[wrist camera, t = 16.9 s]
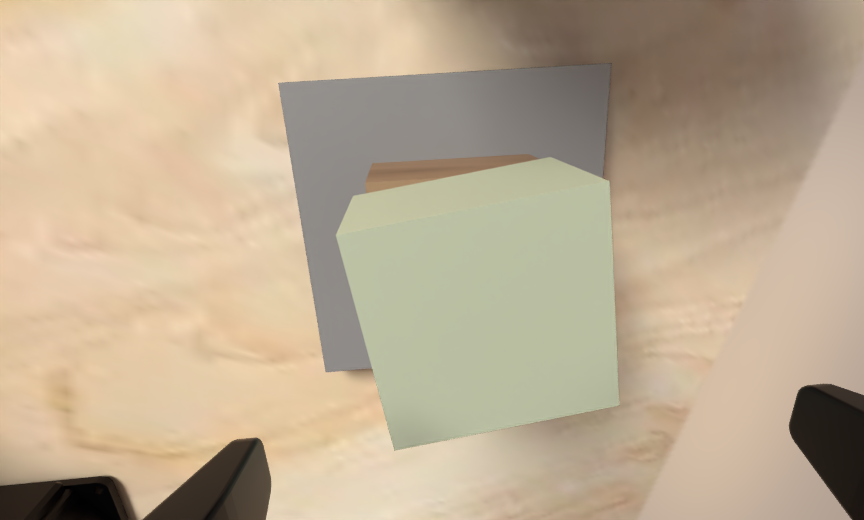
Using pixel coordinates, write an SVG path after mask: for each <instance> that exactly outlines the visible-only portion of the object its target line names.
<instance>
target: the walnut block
mask: <svg viewBox="0 0 864 520" xmlns="http://www.w3.org/2000/svg"><path fill="white" fill-rule="evenodd" d="M532 160H538V158H536V157H534V156H532V155H530V154H519V155H503V156H486V157H469V158H452V159H436V160H419V161H402V162H385V163H372V165H371V168H370V171H369V173H368V176H367V179H366V181H365V187H366V193H371V192H376V191H381V190H386V189H391V188H396V187H401V186H406V185H411V184H416V183H421V182H426V181H431V180H436V179H441V178H446V177H451V176H457V175H462V174H467V173H472V172H477V171H482V170H487V169H492V168H497V167H502V166H507V165H512V164H517V163H522V162H527V161H532Z"/></svg>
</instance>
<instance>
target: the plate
mask: <svg viewBox="0 0 864 520" xmlns="http://www.w3.org/2000/svg"><path fill="white" fill-rule="evenodd" d="M610 75H611V63H605V64H588V65H571V66H554V67H537V68H521V69H504V70H487V71H470V72H453V73H436V74H419V75H403V76H386V77H369V78H352V79H335V80H318V81H301V82H285V83H278V84H279V91H280V97H281V103H282V109H283V115H284V121H285V127H286V133H287V139H288V145H289V151H290V158H291V164H292V170H293V176H294V182H295V188H296V194H297V200H298V206H299V212H300V218H301V225H302V231H303V237H304V243H305V249H306V255H307V261H308V267H309V273H310V279H311V285H312V292H313V298H314V304H315V310H316V316H317V322H318V328H319V334H320V340H321V346H322V352H323V359H324V365H325V371H326V372H335V371H346V370H357V369H368V368H372V366H371V363H370V359H369V355H368V352H367V348H366V344H365V341H364V337H363V333H362V330H361V326H360V322H359V319H358V315H357V311H356V308H355V304H354V300H353V297H352V293H351V289H350V286H349V282H348V278H347V275H346V271H345V267H344V264H343V260H342V256H341V253H340V249H339V245H338V242H337V238H336V234H337V231H338V229H339V227H340V225H341V222H342V220H343V218H344V215H345V213H346V211H347V209H348V206H349V204H350V202H351V199H352V197H353V196H355V195H360V194H365V193H366V187H365V181H366V179H367V176H368V173H369V171H370V168H371V165H372V163H385V162H402V161H419V160H436V159H452V158H469V157H486V156H503V155H519V154H530V155H532V156H534V157H536V158H538V159H543V158H548V157H552V158H554V159H557V160H559V161H562V162H564V163H567V164H569V165H571V166H574V167H576V168H579V169H581V170H584V171H586V172H589V173H591V174H593V175H596V176H598V177H601V178H603V168H604V155H605V142H606V128H607V115H608V101H609V88H610Z"/></svg>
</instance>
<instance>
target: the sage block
mask: <svg viewBox="0 0 864 520" xmlns="http://www.w3.org/2000/svg"><path fill="white" fill-rule="evenodd" d="M336 238H337V242H338V245H339V249H340V253H341V256H342V260H343V264H344V267H345V271H346V275H347V278H348V282H349V286H350V289H351V293H352V297H353V300H354V304H355V308H356V311H357V315H358V319H359V322H360V326H361V330H362V333H363V337H364V341H365V344H366V348H367V352H368V355H369V359H370V363H371V366H372V370H373V374H374V377H375V381H376V385H377V388H378V392H379V396H380V399H381V403H382V407H383V410H384V414H385V418H386V421H387V425H388V429H389V432H390V436H391V440H392V443H393V447H394V451H395V450H400V449H405V448H410V447H415V446H420V445H425V444H430V443H435V442H440V441H445V440H450V439H455V438H460V437H465V436H470V435H475V434H480V433H485V432H490V431H495V430H500V429H505V428H510V427H515V426H520V425H525V424H530V423H535V422H540V421H545V420H550V419H555V418H560V417H565V416H570V415H575V414H580V413H585V412H590V411H595V410H600V409H605V408H610V407H615V406H619V386H618V363H617V340H616V317H615V294H614V271H613V248H612V224H611V201H610V181H608V180H606V179H603V178H601V177H598V176H596V175H593V174H591V173H589V172H586V171H584V170H581V169H579V168H576V167H574V166H571V165H569V164H567V163H564V162H562V161H559V160H557V159H554V158H552V157H548V158H543V159H538V160H532V161H527V162H522V163H517V164H512V165H507V166H502V167H497V168H492V169H487V170H482V171H477V172H472V173H467V174H462V175H457V176H451V177H446V178H441V179H436V180H431V181H426V182H421V183H416V184H411V185H406V186H401V187H396V188H391V189H386V190H381V191H376V192H371V193H365V194H360V195H355V196H353V197H352V199H351V202H350V204H349V206H348V209H347V211H346V213H345V215H344V218H343V220H342V222H341V225H340V227H339V229H338V231H337V234H336Z"/></svg>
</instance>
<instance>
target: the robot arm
mask: <svg viewBox="0 0 864 520" xmlns="http://www.w3.org/2000/svg"><path fill="white" fill-rule="evenodd" d="M789 430H790V434H791V436H792V438H793V440H794V442H795V443H796V444H797V445H798V447H799V449H800V450H801V451H802V452H803V454H804V455H805V457H806V458H807V459H808V461H809V462H810V463H811V465H812V466H813V468H814V469H815V470H816V471H817V473H818V474H819V476H820V477H821V478H822V480H823V481H824V483H825V484H826V485H827V487H828V488H829V489H830V491H831V492H832V493H833V495H834V496H835V498H836V499H837V500H838V502H839V503H840V504H841V506H842V507H843V508H844V510H845V511H846V513H847V514H848V515H849V516H850V518H851V519H852V520H864V395H861V394H858V393H856V392H853V391H850V390H847V389H844V388H841V387H838V386H835V385H832V384H817V385H807V386H804V387H802V388H801V389H800V390H799V392H798V394H797V397H796V400H795V404H794V408H793V411H792V415H791V419H790V422H789ZM270 493H271V476H270V471H269V467H268V463H267V459H266V454H265V450H264V446H263V443H262V441H261V440H260V439H258V438H246V439H237V440H234V441H232V442H230V443H229V444H228V445H227V446H226V447H225V448H223V449H222V450H221V451H220V452H219V453H218V454H217V455H215V456H214V457H213V458H212V459H211V460H210V461H209V462H207V463H206V464H205V465H204V466H203V467H202V468H201V469H199V470H198V471H197V472H196V473H195V474H194V475H193V476H191V477H190V478H189V479H188V480H187V481H186V482H185V483H184V484H182V485H181V486H180V487H179V488H178V489H177V490H176V491H174V492H173V493H172V494H171V495H170V496H169V497H168V498H166V499H165V500H164V501H163V502H162V503H161V504H160V505H158V506H157V507H156V508H155V509H154V510H153V511H152V512H151V513H149V514H148V515H147V516H146V517H145V518H144V519H143V520H266V515H267V510H268V504H269V499H270ZM0 520H128V518H127V515H126V513H125V510H124V508H123V505H122V503H121V500H120V498H119V495H118V493H117V490H116V488H115V485H114V483H113V481H112V480H111V479H109V478H107V477H102V476H99V477H89V478H79V479H69V480H59V481H49V482H38V483H28V484H18V485H8V486H0Z"/></svg>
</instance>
